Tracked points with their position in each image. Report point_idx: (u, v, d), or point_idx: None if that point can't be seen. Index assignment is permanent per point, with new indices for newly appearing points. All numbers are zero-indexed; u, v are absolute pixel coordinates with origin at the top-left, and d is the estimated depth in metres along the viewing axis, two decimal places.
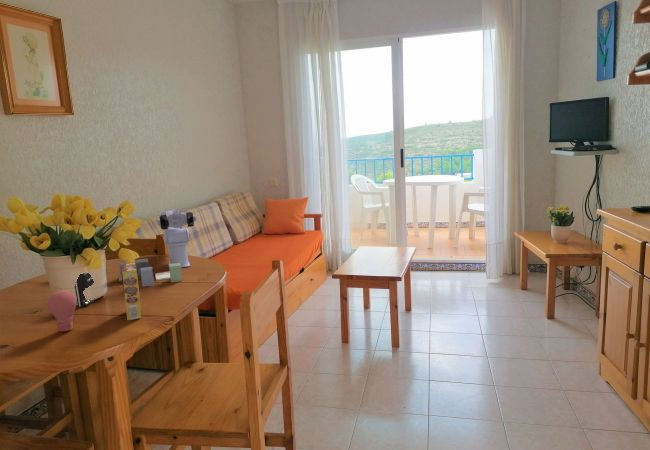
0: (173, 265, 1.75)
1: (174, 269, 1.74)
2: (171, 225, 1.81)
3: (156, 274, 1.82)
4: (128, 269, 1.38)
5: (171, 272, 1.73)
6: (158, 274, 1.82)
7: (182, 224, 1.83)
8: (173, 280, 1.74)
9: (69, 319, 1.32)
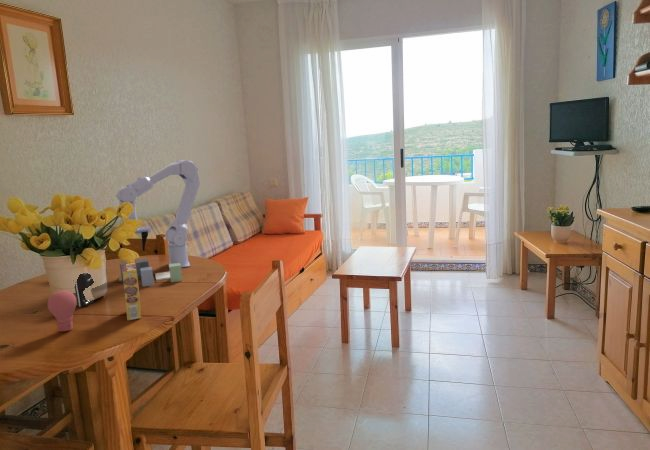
0: (173, 265, 1.75)
1: (174, 269, 1.74)
2: None
3: (156, 274, 1.82)
4: (128, 269, 1.38)
5: (171, 272, 1.73)
6: (158, 274, 1.82)
7: None
8: (173, 280, 1.74)
9: (69, 319, 1.32)
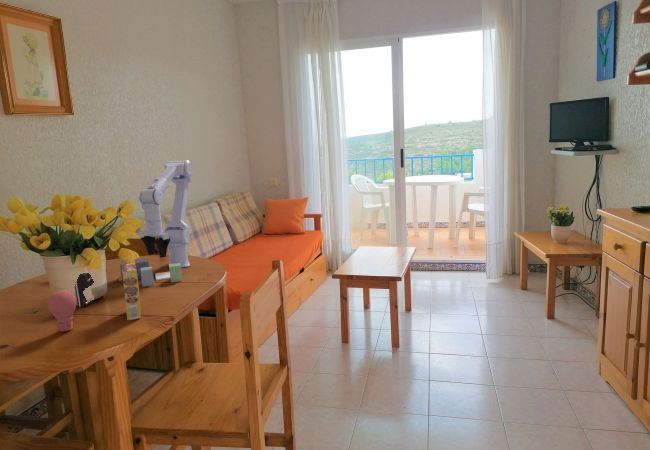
0: (173, 265, 1.75)
1: (174, 269, 1.74)
2: None
3: (156, 274, 1.82)
4: (128, 269, 1.38)
5: (171, 272, 1.73)
6: (158, 274, 1.82)
7: None
8: (173, 280, 1.74)
9: (69, 319, 1.32)
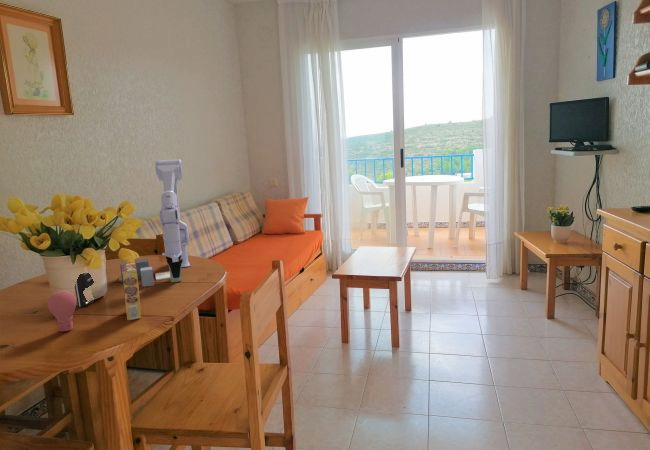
0: None
1: None
2: None
3: (156, 274, 1.82)
4: (128, 269, 1.38)
5: (171, 272, 1.73)
6: (158, 274, 1.82)
7: None
8: (173, 280, 1.74)
9: (69, 319, 1.32)
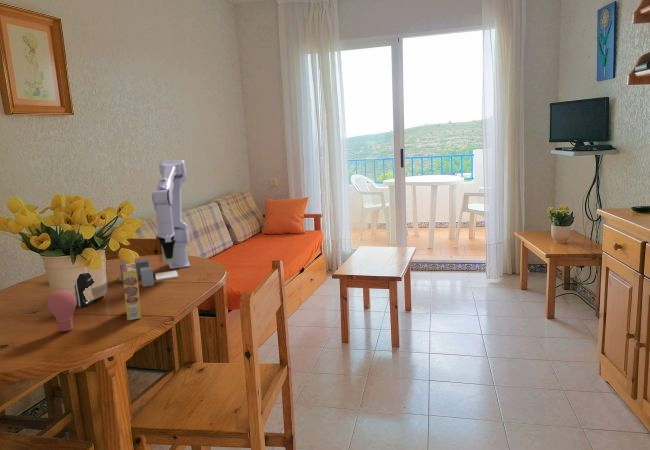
0: None
1: None
2: None
3: (156, 274, 1.82)
4: (128, 269, 1.38)
5: (164, 253, 1.75)
6: (158, 274, 1.82)
7: None
8: (166, 261, 1.76)
9: (69, 319, 1.32)
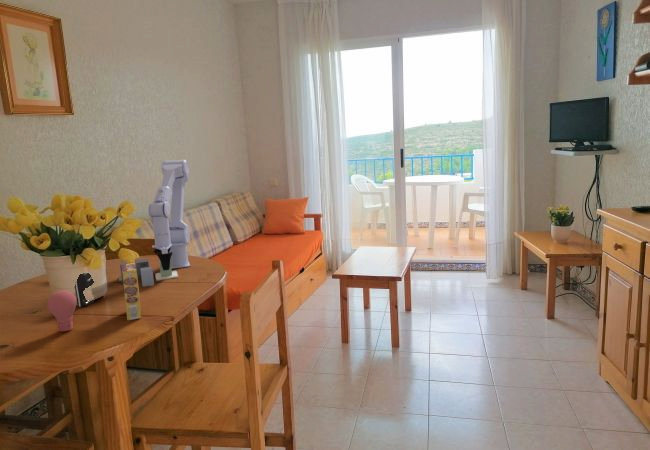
0: None
1: None
2: None
3: (156, 274, 1.82)
4: (128, 269, 1.38)
5: (161, 267, 1.79)
6: (158, 274, 1.82)
7: None
8: (163, 274, 1.79)
9: (69, 319, 1.32)
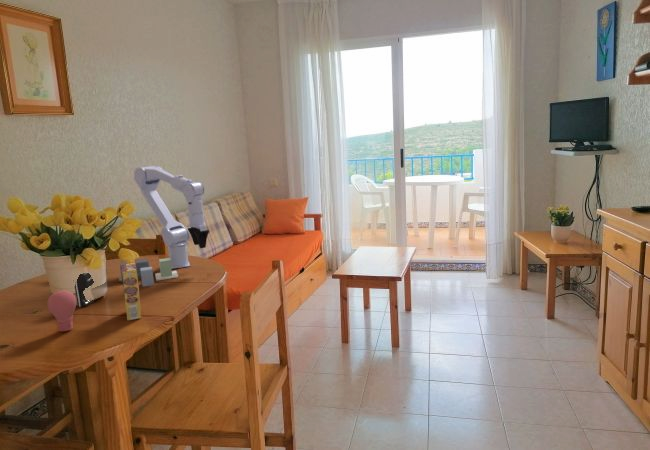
0: (163, 260, 1.80)
1: (164, 264, 1.79)
2: None
3: (156, 274, 1.82)
4: (128, 269, 1.38)
5: (161, 267, 1.79)
6: (158, 274, 1.82)
7: None
8: (163, 274, 1.79)
9: (69, 319, 1.32)
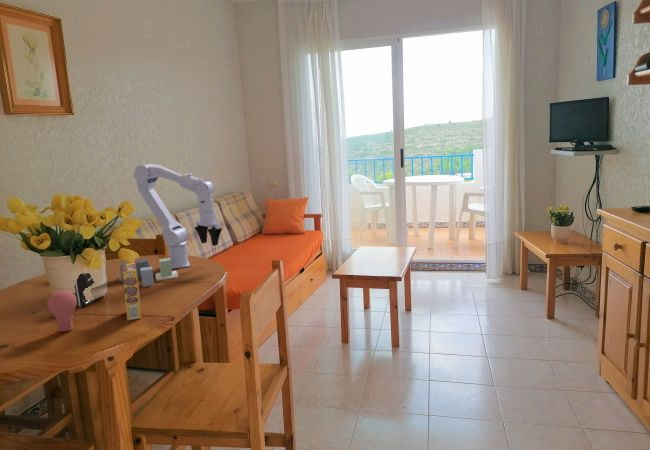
0: (163, 260, 1.80)
1: (164, 264, 1.79)
2: None
3: (156, 274, 1.82)
4: (128, 269, 1.38)
5: (161, 267, 1.79)
6: (158, 274, 1.82)
7: None
8: (163, 274, 1.79)
9: (69, 319, 1.32)
